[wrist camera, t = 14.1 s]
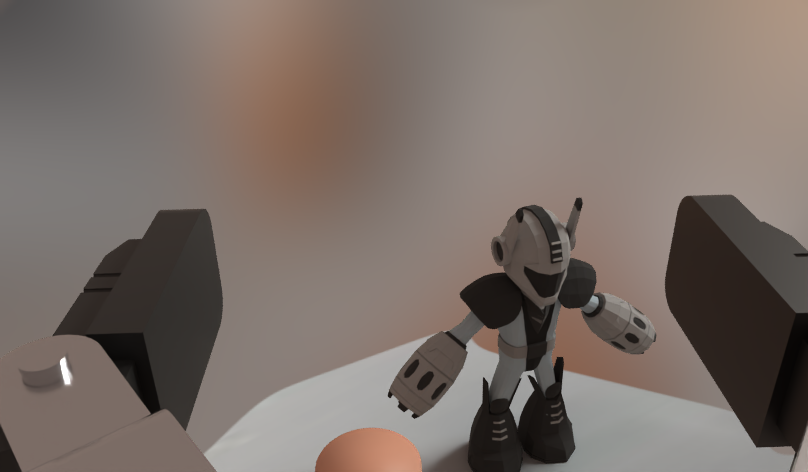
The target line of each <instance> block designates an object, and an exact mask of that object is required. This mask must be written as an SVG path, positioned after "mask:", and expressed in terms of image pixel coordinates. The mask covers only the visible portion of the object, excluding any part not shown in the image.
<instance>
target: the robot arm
mask: <svg viewBox="0 0 808 472" xmlns="http://www.w3.org/2000/svg"><path fill="white" fill-rule="evenodd" d="M665 292H666V298H667V303H668V306H669V309H670V311H671V313H672V314H673V316H674V317H675V319H676V321H677V322H678V324H679V325H680V327H681V328H682V330H683V332H684V333H685V335H686V336H687V338H688V340H689V341H690V343H691V344H692V346H693V347H694V349H695V351H696V352H697V354H698V355H699V357H700V359H701V360H702V362H703V363H704V365H705V366H706V368H707V370H708V371H709V373H710V374H711V376H712V377H713V379H714V381H715V382H716V384H717V385H718V387H719V388H720V390H721V392H722V393H723V395H724V397H725V398H726V400H727V401H728V403H729V405H730V406H731V408H732V409H733V411H734V412H735V414H736V416H737V417H738V419H739V420H740V422H741V424H742V425H743V427H744V428H745V430H746V432H747V433H748V435H749V436H750V438H751V439H752V441H753V443H754V444H755V446H756V447H781V446H782V447H783V446H792V448H793V449H794V451H795V455H794V458H793V461H792V464H791V467H790V470H789V472H808V251H807V250H806V249H805V248H804V247H803V246H802V245H801V244H800V243H799V242H798V241H797V240H796V239H795V238H793V237H792V236H790V235H789V234H787V233H785V232H783V231H781V230H779V229H777V228H775V227H773V226H771V225H769V224H767V223H765V222H760V221H759V220H758V219H757V218H756V217H755V216H754V215H753V214H752V213H751V212H750V211H749V210H748V209H747V208H746V207H745V206H744V205H743V204H742V203H741V202H740V201H739V200H738V199H737V198H736V197H734V196H733V195H702V196H686V197H684V198H683V199H682V201H681V203H680V205H679V208H678V211H677V217H676V222H675V228H674V233H673V238H672V244H671V249H670V254H669V260H668V265H667V271H666V277H665ZM222 307H223V297H222V287H221V280H220V274H219V268H218V262H217V256H216V250H215V243H214V238H213V231H212V225H211V220H210V217H209V214H208V212H207V210H206V209H183V210H160V211H159V212H158V213H157V215H156V216H155V218H154V220H153V221H152V223H151V225H150V227H149V228H148V230H147V232H146V233H145V235H144V237H143V238H142V239H132V240H127V241H126V242H124V243H123V244H122V245H120V246H119V247H117V248H116V249H115V250H113V251H111V252H110V253H109V254H107V255H106V256H105V257H104V259H103V260H102V262H101V263H100V265H99V266H98V268H97V269H96V271H95V272H94V277H91V279H90V280H89V281H88V283H87V284H86V286H85V287H84V293H80V295H79V297H78V298H77V300H76V301H75V303H74V304H73V306H72V307H71V309H70V310H69V312H68V313H67V315H66V316H65V318H64V320H63V321H62V322H61V324H60V325H59V327H58V328H57V330H56V331H55V333H54V334H53V336H52V337H46V338H42V339H38V340H35V341H32V342H30V343H27V344H25V345H22V346H20V347H18V348H16V349H14V350H12V351H11V352H9V353H8V354H6V355H5V356H3V357H2V358H1V359H0V472H216V470H215V469H214V468H213V466H212V465H211V464H210V462H209V461H208V460H207V459H206V457H205V456H204V455H203V453H202V452H201V451H200V450H199V448H198V447H197V446H196V444H195V443H194V442H193V440H192V439H191V438H190V437H189V435H188V434H187V433H186V428H187V425H188V422H189V419H190V416H191V413H192V410H193V407H194V404H195V401H196V398H197V395H198V392H199V389H200V385H201V383H202V379H203V376H204V373H205V370H206V367H207V364H208V361H209V358H210V355H211V352H212V349H213V346H214V342H215V339H216V336H217V333H218V330H219V327H220V324H221V319H222V309H223V308H222Z"/></svg>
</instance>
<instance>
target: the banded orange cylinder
mask: <svg viewBox="0 0 808 472" xmlns="http://www.w3.org/2000/svg"><path fill="white" fill-rule="evenodd" d="M315 472H422V464H421V458H420V455H419V452H418V451H417V449H416V447H415V446H414V445H413V444H412V443H411V442H410V441H409V440H408V439H407V438H405V437H404V436H402V435H400V434H398V433H396V432H393V431H390V430H386V429H380V428H363V429H357V430H353V431H350V432H347V433H345V434H342V435H340V436H338V437H337V438H335V439H334V440H332V441H331V442H330V443H329V444H328V445H327V446H326V447H325V448H324V449H323V450H322V452H321V453H320V455H319V457H318V459H317V462H316V467H315Z"/></svg>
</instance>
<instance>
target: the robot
mask: <svg viewBox="0 0 808 472" xmlns="http://www.w3.org/2000/svg"><path fill="white" fill-rule="evenodd" d="M581 208H582V199H581V198H576V201H575V204H574V206H573V209H572V212H571V215H570V217H569V220H568V222H567V223H561V222H559V220H558V218H557V217H556V216H555V215H554V214H553V213H552V212H551V211H548V210H546V209H543V208H542V207H539V206H536V205H531V206H526V207H522V208H520V209H518V210H517V212H516V213H515V214H514V215H513V216H512V217H510V219H509V220H508V223H507V226H506V227H505V229H504V231H503V232H502V234H501V236H498V237H494V238H493V240H492V243H491V249H492V255H493V257H494V260H495V262H496V263H497V265H499V266H503V267H504V271H505V272H506V273H494V274H490V275H485V276H483V277H481V278H479V279H477V280H476V281H474V282H473V283H471V284H470V285H468V286H467V287H465V289H463V290H462V291H461V293H460V297H461V299H462V300H463V301H464V302H465V303H466V304H467V305H468V307H469V308H470V309H471V312H470V313H469V314H468V315H467V317H466V318H465V319H464V320H463V321H462V323H460V324H459V325H457V326H456V327H454V328H453V329H451V330H450V331H447V332H445V333H444V332H443V331H441V332H439V333H438V334H436V335H434V336H432V337H431V338H429V339H427V341H426V342H425V343H424V344H423V345H422V346H420V347H419V348H418V349H417V350H416V351H415V352H414V353H413V355H412V356H411V357H410V358H409V360H408V361H407V362H406V363H405V365H404V366H403V367H402V368H401V370H400V371H399V373H398V374H397V376H396V377H395V379H394V381H393V383H392V385H391V387H390V389H389V393H388V397H389V398H391V396H392V395H394V396H395V397H396V398H397V399H398V400H399V401H398V402H399V405H398V408H400V409H401V410H402V411H403V412H405V411H406V410H408V409H410V410H411V411H412V412H414V414H413V415H412V417H413V418H414V419H415V418H417V417H419V416H421V415H423V414H424V413H425V412H427V411H428V410H430V409H431V408H432V407H433V406H434V405H435V404H436V403H437V402H438V401H439V400H440V399H441V398H442V397H443V395H444V394H445V393H446V392H447V391H448V389H449V388H450V387H451V386H452V384H453V383H454V381H455V380H456V378H457V376H458V374H459V373H460V371H461V369H463V366H464V362H465V359H466V356H467V353H468V352H467V351H466V347H467V346H466V344H467V342H468V341H469V340H470V339H471V337H472V336H473V335H474V334H476V333H477V332H478V331H479V330H480V329H481V328H482V327H483V326H484V325H485V326H486V327H487V328H490V329H497V328H498V330H499V335H498V347H499V362H498V365H497V368H496V371H495V374H494V377H493V380H492V383H491V386H490V389H489V388H488V382H487V381H486V380H485V378H484V377H483V403H482V405H481V407H480V408H479V410H478V412H477V414H476V416H475V418H474V421H473V424H472V427H471V433H470V440H469V454H468V462H469V465H470V467H471V469H472V470H473V471H474V472H520V468H521V464H522V461H523V458H522V448H521V444H522V446H523V449H524V451H525V452H526V453H527V454H528V455H529V456H530V457H531V458H534V459H537V460H539V461H542V462H545V463H555V462H567V461H568V459H569V458H570V456H571V454H572V453H573V451H574V450H575V444H574V438H573V431H572V423H571V422H570V420H569V419H568V417H567V414H566V409H565V405H564V401H563V398H562V394H561V389H562V377H563V366H564V361H563V357H557V359H556V363H555V366H554V369H553V364H552V359H551V356H552V350H553V349H554V347H555V337H556V334H555V329H556V325H557V319H558V315H559V311H560V307H561V304H562V305H563V306H564V307H565V308H569V309H570V308H580V309H581V310H582V311H581V312H582V315H583V318H584V320H585V322H586V323H587V325H588V327H589V328H590V329H591V331H592V332H593V333H595V334H596V335H597V336H598V337H600V338H601V339H602V340H604V341H605V342H607V343H609V344H610V345H612V346H613V347H615V348H617V349H619V350H621V351H623V352H626V353H630V354H643V353H644V351H645V350H647V349H648V348H649V347H650V345H651V344H652V342H655V340H656V333H655V330H654V327H653V325H652V323H651V322H650V321H649V319H648V318H647V317H646V316H645V315H644V314H643V313H641V312H640V311H639V310H637V309H636V308H634V307H633V306H632V305H631V304H629V303H628V302H625V301H624V300H622V299H620V298H618V297H616V296H614V295H612V294H606V293H594V289H595V285H596V272H595V270H594V268H593V267H592V266H591V265H590V264H588V263H586V262H583V261H581V260H577V259H574V258H570V251H572V250H573V249H574V247H575V242H576V239H575V230H576V226H577V223H578V219H579V215H580V211H581ZM593 293H594V294H593ZM531 370H534V372H535V376H536V379H537V382H536V381H535V379H534V378H533V377H532V376H530V375H527V376H528V378H529V380H530V382H531V384H532V386H533V388H534V392H533V393H532V395H531V396H530V397H529V399H528V401H527V403H526V404H525V406H524V408H523V411H522V414H521V416H520V421H519V426H518V432H517V427H516V423H515V420H514V417H513V414H512V412H511V411H510V409H509V407H510V404H511V402H512V399H513V397H514V395H515V392H516V390H517V388H518V385H519V383H520V381H521V378H520V377H521V375H522V373H523V372H524V371H531ZM537 383H538V384H537Z"/></svg>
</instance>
